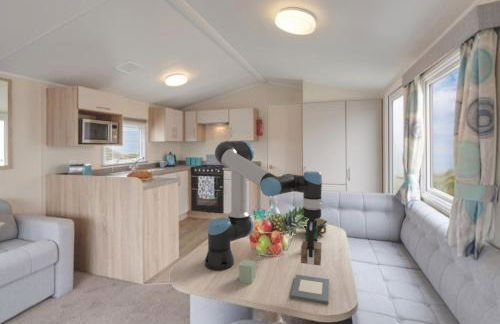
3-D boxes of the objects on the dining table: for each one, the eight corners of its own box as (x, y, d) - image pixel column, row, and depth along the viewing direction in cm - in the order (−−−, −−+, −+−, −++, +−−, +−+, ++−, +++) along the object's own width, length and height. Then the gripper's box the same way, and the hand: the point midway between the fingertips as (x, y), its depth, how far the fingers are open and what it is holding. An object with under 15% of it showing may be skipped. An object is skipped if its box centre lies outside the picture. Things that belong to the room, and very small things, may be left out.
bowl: (296, 234, 187) (296, 220, 186) (308, 227, 200) (309, 215, 200) (320, 240, 175) (320, 225, 175) (331, 233, 189) (331, 219, 188)
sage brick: (239, 281, 123) (239, 264, 122) (243, 275, 128) (243, 259, 128) (251, 283, 121) (251, 266, 120) (255, 277, 127) (255, 261, 126)
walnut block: (300, 263, 113) (301, 246, 112) (302, 255, 120) (303, 240, 120) (320, 265, 110) (320, 249, 110) (321, 257, 118) (321, 242, 117)
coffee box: (314, 246, 164) (314, 225, 164) (317, 248, 162) (318, 226, 161) (304, 249, 160) (305, 227, 159) (308, 250, 158) (308, 229, 157)
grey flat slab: (290, 297, 110) (290, 294, 110) (296, 276, 127) (296, 274, 127) (328, 304, 106) (328, 301, 105) (328, 281, 123) (328, 279, 123)
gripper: (320, 214, 103) (319, 271, 104) (322, 203, 123) (321, 251, 124) (300, 213, 105) (299, 269, 106) (305, 202, 125) (304, 249, 126)
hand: (311, 259), depth 115 cm, fingers closed on walnut block, 8 cm apart
